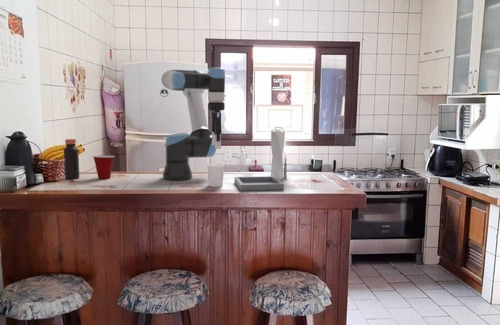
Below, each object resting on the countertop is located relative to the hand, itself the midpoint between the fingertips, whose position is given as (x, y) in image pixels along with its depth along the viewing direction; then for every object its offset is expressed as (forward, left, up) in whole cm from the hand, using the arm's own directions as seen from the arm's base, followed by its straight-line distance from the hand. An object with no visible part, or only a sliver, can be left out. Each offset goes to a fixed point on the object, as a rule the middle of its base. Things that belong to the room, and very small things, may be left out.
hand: (216, 147), depth 195 cm
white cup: (0, 0, -19) cm, 19 cm away
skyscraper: (-14, +34, -19) cm, 41 cm away
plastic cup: (-25, -55, -19) cm, 63 cm away
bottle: (-26, -71, -19) cm, 78 cm away
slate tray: (+4, +20, -19) cm, 27 cm away
